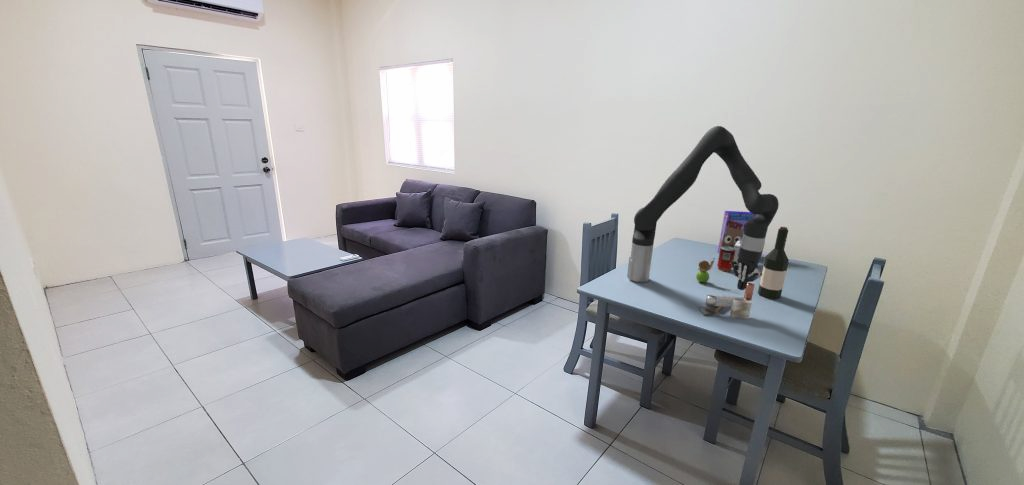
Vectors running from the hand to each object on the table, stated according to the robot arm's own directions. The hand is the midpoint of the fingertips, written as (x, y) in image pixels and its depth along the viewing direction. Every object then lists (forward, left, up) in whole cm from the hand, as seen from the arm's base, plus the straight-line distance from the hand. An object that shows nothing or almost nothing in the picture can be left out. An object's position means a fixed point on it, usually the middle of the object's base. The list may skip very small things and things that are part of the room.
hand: (740, 289), depth 158 cm
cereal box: (+31, +74, -9) cm, 81 cm away
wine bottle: (+20, +16, -9) cm, 27 cm away
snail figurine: (-3, +28, -9) cm, 30 cm away
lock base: (-7, 0, -9) cm, 11 cm away
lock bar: (-6, -4, -5) cm, 9 cm away
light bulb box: (+26, +58, -9) cm, 64 cm away
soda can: (+14, +47, -9) cm, 50 cm away
